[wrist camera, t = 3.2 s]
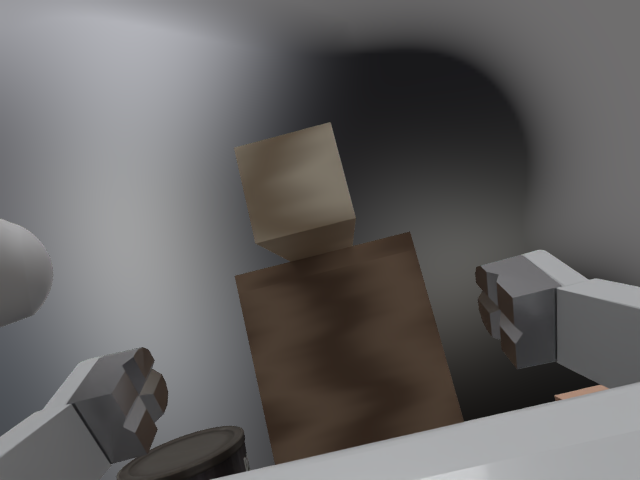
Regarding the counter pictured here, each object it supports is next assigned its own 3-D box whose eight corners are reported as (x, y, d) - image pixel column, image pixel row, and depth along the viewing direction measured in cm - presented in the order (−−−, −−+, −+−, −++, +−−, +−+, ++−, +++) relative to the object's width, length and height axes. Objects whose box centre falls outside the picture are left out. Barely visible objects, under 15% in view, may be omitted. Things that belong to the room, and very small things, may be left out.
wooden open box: (351, 821, 18) (234, 276, 22) (349, 591, 32) (278, 281, 36) (565, 779, 18) (409, 231, 21) (469, 565, 32) (385, 254, 35)
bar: (255, 243, 13) (233, 147, 14) (309, 271, 32) (299, 230, 33) (355, 217, 13) (330, 122, 14) (350, 260, 32) (340, 219, 32)
